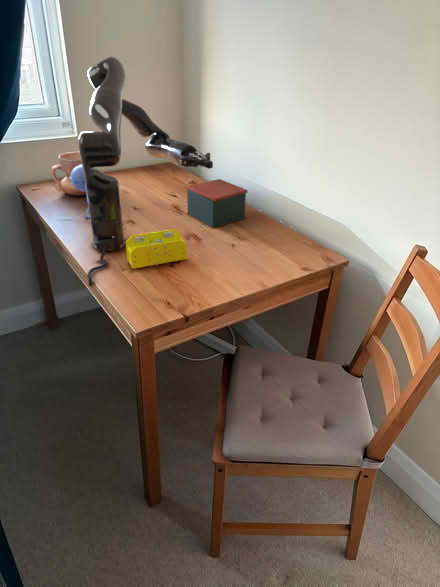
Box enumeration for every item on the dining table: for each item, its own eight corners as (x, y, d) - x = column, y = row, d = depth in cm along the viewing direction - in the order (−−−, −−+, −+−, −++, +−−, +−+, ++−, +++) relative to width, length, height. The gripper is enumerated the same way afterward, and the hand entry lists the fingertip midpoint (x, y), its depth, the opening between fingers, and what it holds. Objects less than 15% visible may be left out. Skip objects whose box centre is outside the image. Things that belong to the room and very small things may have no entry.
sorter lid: (247, 192, 153) (247, 190, 153) (214, 201, 146) (214, 198, 145) (219, 181, 163) (219, 178, 163) (187, 188, 156) (187, 186, 155)
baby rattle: (76, 223, 151) (68, 170, 142) (76, 214, 158) (68, 162, 149) (103, 221, 153) (96, 168, 144) (101, 212, 160) (95, 160, 151)
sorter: (244, 218, 159) (245, 193, 154) (212, 227, 151) (213, 201, 146) (218, 205, 168) (219, 181, 163) (187, 213, 161) (187, 189, 156)
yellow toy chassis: (180, 253, 135) (179, 227, 131) (187, 261, 131) (186, 235, 126) (127, 262, 130) (124, 235, 125) (132, 271, 125) (129, 244, 121)
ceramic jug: (99, 183, 185) (95, 148, 177) (106, 195, 174) (101, 158, 166) (53, 188, 179) (46, 152, 171) (56, 201, 168) (50, 163, 160)
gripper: (165, 145, 159) (194, 157, 147) (196, 140, 166) (226, 151, 154) (166, 166, 163) (195, 179, 151) (196, 160, 170) (226, 172, 158)
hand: (211, 165), depth 153 cm, fingers closed
